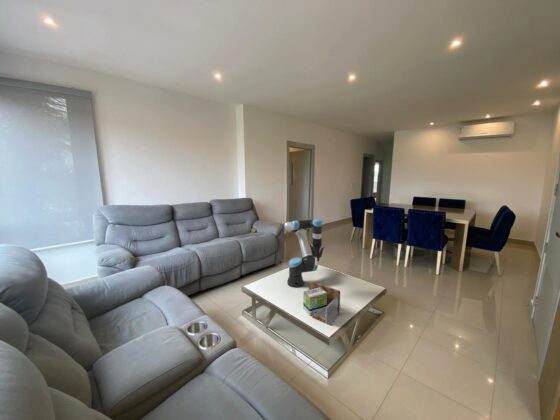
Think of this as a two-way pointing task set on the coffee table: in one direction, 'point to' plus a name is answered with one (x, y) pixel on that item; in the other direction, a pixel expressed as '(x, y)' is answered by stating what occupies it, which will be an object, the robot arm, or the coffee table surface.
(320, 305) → the tea box
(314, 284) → the shelf wall
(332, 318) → the bookend
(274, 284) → the coffee table surface
